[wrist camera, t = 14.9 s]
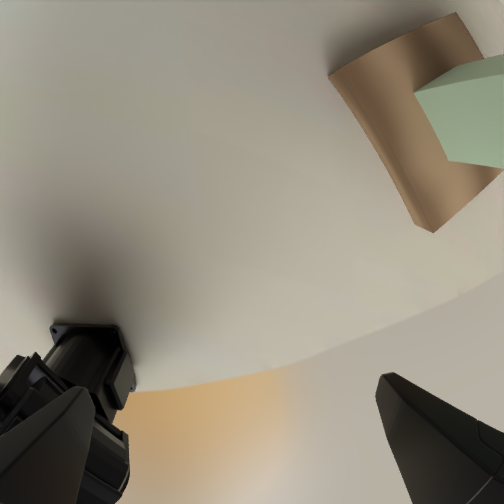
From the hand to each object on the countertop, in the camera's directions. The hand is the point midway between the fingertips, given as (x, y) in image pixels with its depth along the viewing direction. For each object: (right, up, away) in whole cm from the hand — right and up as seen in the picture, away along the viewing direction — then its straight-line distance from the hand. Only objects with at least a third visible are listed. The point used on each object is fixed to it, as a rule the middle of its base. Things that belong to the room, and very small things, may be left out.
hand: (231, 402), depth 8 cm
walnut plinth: (+14, +14, +10) cm, 22 cm away
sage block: (+14, +14, +8) cm, 21 cm away
